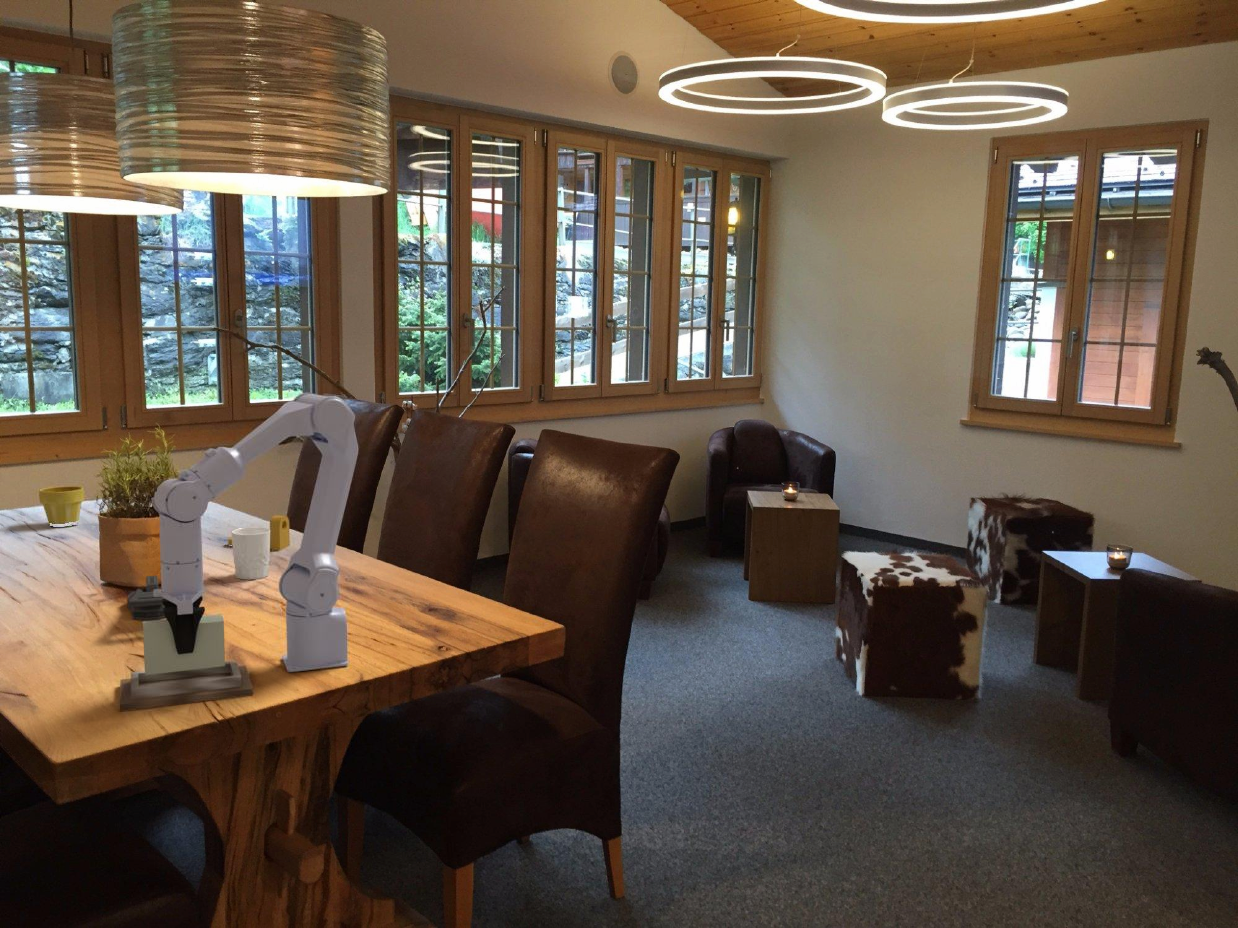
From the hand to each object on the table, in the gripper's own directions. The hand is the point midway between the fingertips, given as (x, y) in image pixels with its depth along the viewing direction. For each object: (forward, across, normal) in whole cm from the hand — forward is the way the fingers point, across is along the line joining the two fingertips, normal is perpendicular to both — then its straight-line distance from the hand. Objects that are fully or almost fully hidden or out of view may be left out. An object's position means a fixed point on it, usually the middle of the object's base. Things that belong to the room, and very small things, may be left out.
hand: (184, 648), depth 154 cm
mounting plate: (+7, 0, 0) cm, 7 cm away
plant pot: (+7, -139, -24) cm, 141 cm away
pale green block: (+3, 0, 0) cm, 3 cm away
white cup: (+7, -68, +16) cm, 70 cm away
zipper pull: (+7, -43, -4) cm, 44 cm away
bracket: (+7, -97, +20) cm, 99 cm away
